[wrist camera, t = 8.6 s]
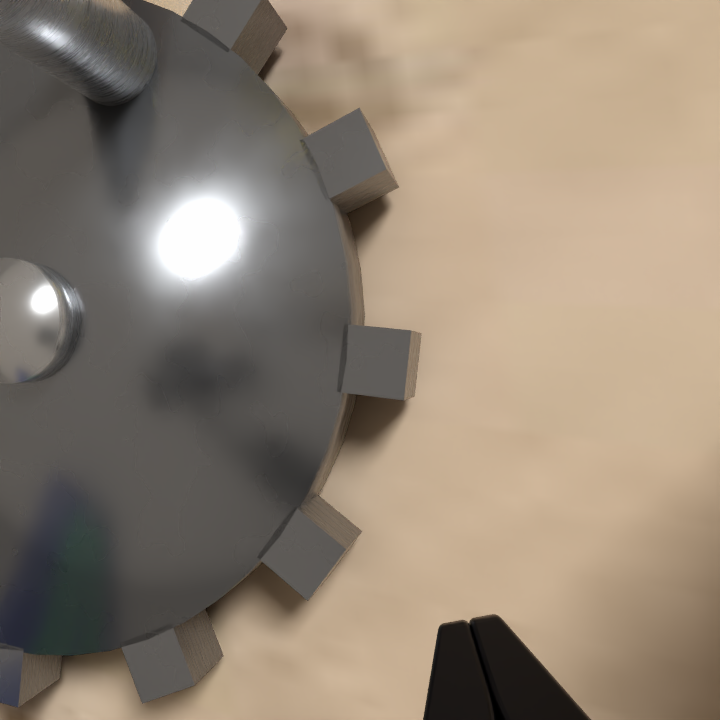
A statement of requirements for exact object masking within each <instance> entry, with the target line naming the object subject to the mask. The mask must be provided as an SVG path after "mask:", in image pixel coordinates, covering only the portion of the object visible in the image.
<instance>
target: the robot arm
mask: <svg viewBox="0 0 720 720" xmlns="http://www.w3.org/2000/svg"><path fill="white" fill-rule="evenodd" d="M423 720H591V719H590V718H589V717H588V716H587V715H586V714H585V712H584V711H583V710H582V709H581V708H580V707H579V706H578V704H577V703H576V702H575V701H574V700H573V699H572V698H571V697H570V695H569V694H568V693H567V692H566V691H565V690H564V689H563V687H562V686H561V685H560V684H559V683H558V682H557V681H556V680H555V678H554V677H553V676H552V675H551V674H550V673H549V672H548V670H547V669H546V668H545V667H544V666H543V665H542V664H541V663H540V661H539V660H538V659H537V658H536V657H535V656H534V655H533V653H532V652H531V651H530V650H529V649H528V648H527V647H526V646H525V644H524V643H523V642H522V641H521V640H520V639H519V638H518V636H517V635H516V634H515V633H514V632H513V631H512V630H511V629H510V627H509V626H508V625H507V624H506V623H505V622H504V621H503V620H502V618H500V617H499V616H498V615H494V614H492V615H487V616H481V617H476V618H472V619H471V620H470V622H469V623H468V622H467V621H465V620H459V621H454V622H448V623H443V624H441V625H440V627H439V629H438V634H437V640H436V646H435V652H434V658H433V664H432V670H431V676H430V682H429V688H428V694H427V700H426V706H425V712H424V718H423Z"/></svg>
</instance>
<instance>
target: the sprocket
mask: <svg viewBox="0 0 720 720" xmlns="http://www.w3.org/2000/svg"><path fill="white" fill-rule="evenodd" d="M286 30H287V27H286V26H285V24H284V23H283V21H282V20H281V18H280V17H279V15H278V14H277V12H276V11H275V10H274V8H273V7H272V5H271V4H270V2H269V1H268V0H193V1H192V2H191V4H190V6H189V7H188V9H187V11H186V12H185V14H184V15H183V17H181V16H180V15H178V14H176V13H174V12H173V11H170V10H168V9H165V8H162V7H160V6H157V5H154V4H152V3H149V2H146V1H144V0H0V702H1V703H4V704H8V705H11V706H15V707H20V706H21V705H22V704H24V703H25V702H27V701H28V700H30V699H31V698H32V697H34V696H35V695H37V694H38V693H40V692H41V691H42V690H44V689H45V688H47V687H48V686H50V685H51V684H52V683H54V682H55V681H57V680H58V679H60V671H61V660H62V655H70V656H72V655H80V654H88V653H96V652H103V651H110V650H114V649H117V648H122V651H123V653H124V656H125V659H126V661H127V664H128V667H129V669H130V672H131V675H132V678H133V680H134V683H135V686H136V688H137V691H138V694H139V696H140V699H141V702H142V704H143V703H146V702H148V701H151V700H154V699H157V698H160V697H163V696H166V695H168V694H171V693H174V692H177V691H180V690H183V689H185V688H188V687H191V686H194V685H196V684H197V683H198V682H199V681H200V680H201V678H202V677H203V676H204V675H205V674H206V673H207V672H208V671H209V670H210V669H211V668H212V667H213V666H214V665H215V664H216V663H217V662H218V661H219V660H220V659H221V658H222V657H223V653H222V651H221V648H220V645H219V643H218V640H217V638H216V635H215V633H214V630H213V627H212V625H211V622H210V620H209V617H208V614H207V612H206V609H205V608H207V607H208V606H210V605H211V604H213V603H215V602H216V601H218V600H219V599H220V598H222V597H223V596H224V595H225V594H226V593H228V592H229V591H230V590H231V589H233V588H234V587H235V586H236V585H238V584H239V583H240V582H241V581H242V580H244V579H245V578H246V577H247V576H248V575H249V574H251V573H252V572H253V571H254V570H255V569H256V568H257V567H258V566H259V565H261V564H262V563H264V564H265V565H267V566H268V567H269V568H270V569H271V570H272V571H274V572H275V573H276V574H277V575H278V576H279V577H280V578H282V579H283V580H284V581H285V582H286V583H287V584H289V585H290V586H291V587H292V588H293V589H294V590H296V591H297V592H298V593H299V594H300V595H301V596H302V597H304V598H305V599H306V600H307V601H308V600H309V599H310V598H311V597H312V595H313V594H314V593H315V592H316V591H317V590H318V588H319V587H320V586H321V585H322V584H323V583H324V581H325V580H326V579H327V578H328V576H329V575H330V574H331V572H332V571H333V570H334V568H335V567H336V566H337V564H338V563H339V562H340V560H341V559H342V558H343V556H344V555H345V554H346V552H347V551H348V550H349V548H350V547H351V546H352V544H353V543H354V542H355V540H356V539H357V538H358V536H359V535H360V534H361V532H362V531H361V530H360V529H359V528H358V527H356V526H355V525H354V524H353V523H351V522H350V521H349V520H348V519H347V518H345V517H344V516H343V515H342V514H340V513H339V512H338V511H337V510H336V509H334V508H333V507H332V506H331V505H330V504H328V503H327V502H326V501H325V500H323V499H322V498H321V497H320V496H319V495H318V493H319V492H320V490H321V488H322V487H323V485H324V484H325V481H326V479H327V477H328V475H329V473H330V470H331V468H332V466H333V464H334V462H335V460H336V457H337V455H338V453H339V451H340V449H341V446H342V444H343V441H344V437H345V434H346V431H347V428H348V424H349V421H350V418H351V415H352V411H353V408H354V405H355V401H356V395H365V396H373V397H381V398H389V399H397V400H406V399H409V398H412V397H414V396H415V388H416V379H417V370H418V361H419V351H420V342H421V333H418V332H415V331H410V330H400V329H390V328H380V327H370V326H364V318H365V312H364V300H363V288H362V277H361V268H360V263H359V258H358V254H357V249H356V245H355V240H354V235H353V231H352V226H351V223H350V221H349V218H348V215H347V214H348V213H350V212H352V211H354V210H355V209H357V208H359V207H361V206H363V205H365V204H367V203H369V202H371V201H373V200H375V199H377V198H379V197H381V196H383V195H385V194H387V193H389V192H391V191H393V190H395V189H397V188H399V186H398V184H397V182H396V180H395V177H394V175H393V173H392V171H391V168H390V166H389V164H388V162H387V159H386V157H385V155H384V153H383V151H382V148H381V146H380V144H379V142H378V139H377V137H376V135H375V133H374V131H373V129H372V128H371V126H370V124H369V123H368V121H367V119H366V118H365V116H364V115H363V113H362V111H361V110H360V108H358V109H356V110H354V111H353V112H351V113H349V114H347V115H345V116H344V117H342V118H340V119H338V120H336V121H334V122H333V123H331V124H329V125H327V126H325V127H323V128H322V129H320V130H318V131H316V132H314V133H313V134H311V135H308V134H307V132H306V131H305V130H304V128H303V127H302V125H301V124H300V123H299V121H298V120H297V118H296V117H295V116H294V114H293V113H292V112H291V111H290V110H289V109H288V107H287V106H286V105H285V104H284V103H283V102H282V101H281V100H280V99H279V97H278V96H277V95H276V94H275V93H274V92H273V91H272V90H271V89H270V88H269V87H268V85H267V84H266V83H265V82H264V81H263V80H262V79H261V78H260V77H259V76H258V74H259V72H260V71H261V69H262V68H263V66H264V65H265V63H266V61H267V60H268V58H269V57H270V55H271V54H272V52H273V50H274V49H275V47H276V46H277V44H278V43H279V41H280V39H281V38H282V36H283V35H284V33H285V31H286Z"/></svg>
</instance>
